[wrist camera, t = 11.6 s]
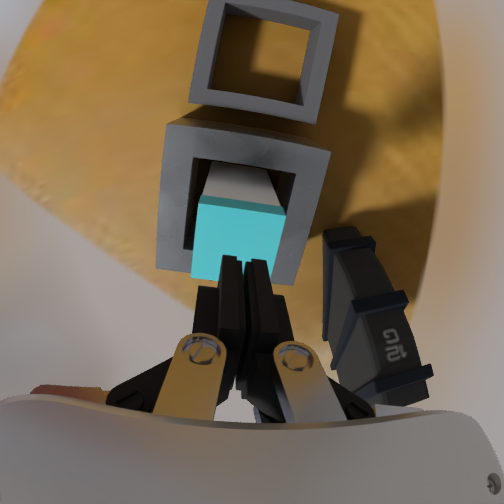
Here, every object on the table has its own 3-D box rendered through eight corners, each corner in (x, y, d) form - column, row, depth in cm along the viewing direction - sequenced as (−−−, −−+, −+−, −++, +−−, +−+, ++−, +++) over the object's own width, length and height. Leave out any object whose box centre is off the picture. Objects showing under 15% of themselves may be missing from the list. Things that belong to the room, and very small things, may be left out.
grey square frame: (214, 1, 15) (212, -13, 13) (325, 23, 16) (339, 14, 14) (194, 101, 19) (188, 102, 16) (304, 120, 20) (315, 124, 18)
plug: (211, 160, 21) (198, 203, 14) (266, 169, 22) (286, 216, 14) (204, 211, 23) (190, 277, 16) (256, 218, 24) (268, 286, 16)
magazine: (367, 195, 22) (438, 393, 13) (343, 280, 32) (375, 413, 24) (321, 200, 22) (380, 413, 13) (310, 285, 32) (337, 423, 24)
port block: (181, 117, 20) (166, 123, 15) (311, 138, 21) (331, 151, 17) (168, 235, 24) (155, 268, 20) (282, 250, 25) (293, 285, 21)
